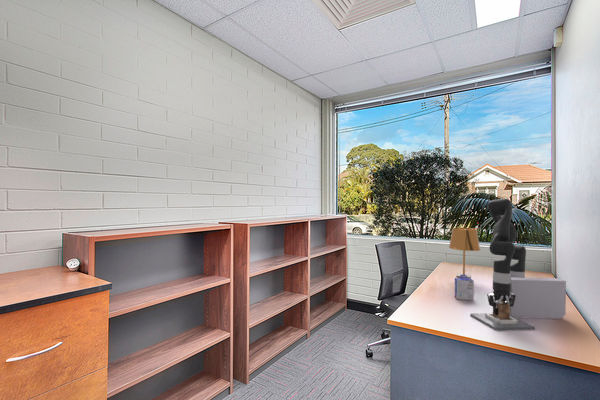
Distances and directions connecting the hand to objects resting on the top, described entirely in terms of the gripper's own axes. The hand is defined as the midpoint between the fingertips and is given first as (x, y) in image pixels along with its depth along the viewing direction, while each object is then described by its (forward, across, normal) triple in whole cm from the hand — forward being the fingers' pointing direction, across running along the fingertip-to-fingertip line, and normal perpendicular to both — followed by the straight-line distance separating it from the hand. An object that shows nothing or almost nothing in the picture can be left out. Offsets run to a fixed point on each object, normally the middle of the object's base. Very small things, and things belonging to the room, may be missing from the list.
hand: (501, 314), depth 150 cm
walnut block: (+1, 0, 0) cm, 1 cm away
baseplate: (+4, 0, 0) cm, 4 cm away
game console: (+4, -24, -6) cm, 26 cm away
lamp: (+4, -29, -71) cm, 77 cm away
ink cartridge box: (+4, -5, -36) cm, 36 cm away
